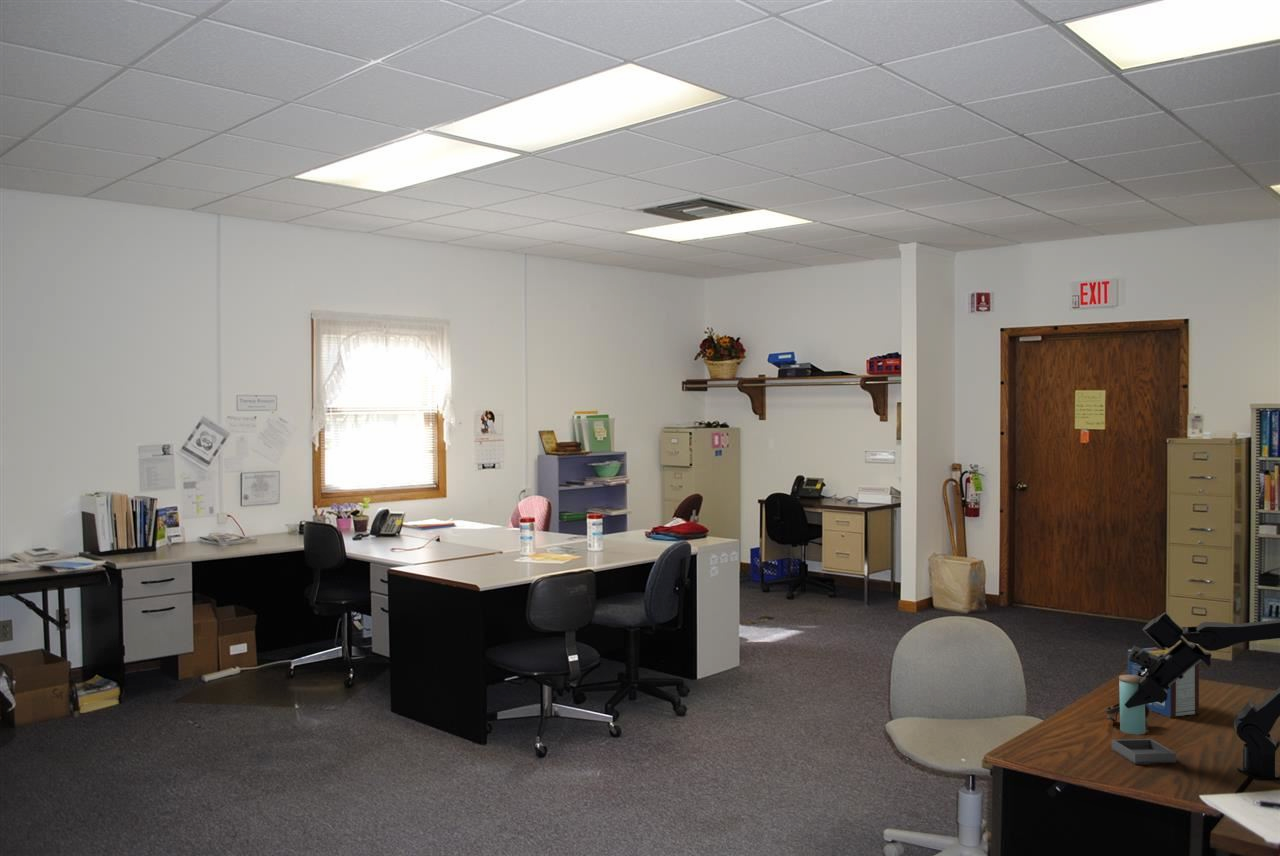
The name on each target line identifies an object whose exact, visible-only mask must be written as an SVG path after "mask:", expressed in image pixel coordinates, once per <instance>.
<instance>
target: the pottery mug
mask: <svg viewBox="0 0 1280 856" xmlns="http://www.w3.org/2000/svg"><path fill="white" fill-rule="evenodd" d="M1111 707H1112V708H1111ZM1105 713H1106V720H1107V721H1108V720H1110V721H1113V722H1112V723H1115V722H1117V720H1118V714H1119V715H1120V701H1119V702H1117V703H1115V704H1112V706H1109V707H1107V708H1106V709H1105ZM1149 715H1150V711H1149V707H1148V706H1147V705H1146V704H1145V731H1148V730H1149V726H1148V721H1147V718H1148V717H1149Z"/></svg>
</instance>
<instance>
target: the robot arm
mask: <svg viewBox="0 0 1280 856" xmlns="http://www.w3.org/2000/svg"><path fill="white" fill-rule="evenodd" d="M1142 631H1143V632H1144V633H1145V634H1146V636H1148V637H1149V638H1150V639H1151V640H1153V641H1154V642H1155V644H1157V646H1158V647H1160V649H1162V648H1165V649H1170V650H1168V651H1169V652H1168V653H1167V654H1165V655H1164V654H1163V655H1162V654H1160V655H1159V656H1158V657H1156V656H1155V655H1153V654H1151V653H1149V652H1147V651H1145V650H1143V649H1144V648H1140V647H1138V646H1137V645H1133V647H1132V648H1131V649H1130V650H1131V652H1130V654H1129V656H1128V655H1127V661H1128V660H1129V661H1131V662H1132V663H1136V664H1138V665H1140V666H1139V669H1140V670H1142V669H1143V670H1144V671H1143V672H1140V671H1139V670H1138V676H1141V677H1143V678H1142V679H1141V680H1139V679H1138V689H1137V690H1136V691H1135V693H1134V694H1133V695H1132V696H1131V697H1130V698H1129V700H1128V701H1127V702H1126V703H1125V706H1126V707H1127V708H1131V707H1135V706H1140V705H1144V704H1148V703H1153V702H1159V703H1161V704H1162V703H1163V702H1164V701H1166V700H1167V690H1168V689H1169V688H1170V685H1171V684H1172V683H1173V682H1175V681H1176V680H1177V679H1178V678H1179V679H1182V678H1183V677H1184V675H1183V674H1185V673H1186V672H1187V671H1189V670H1190V669H1191V668H1192V667H1194V666H1195V665H1196V664H1197V663H1199V664H1200V662H1201V661H1202V662H1203V663H1204V664H1205V665H1206V666H1208V667H1211V665H1212V663H1211V658H1212V653H1211V652H1214V651H1219V650H1223V649H1226V648H1230V647H1233V646H1235V645H1239V644H1241V643H1246V642H1247V643H1248V642H1256V641H1257V642H1258V641H1265V640H1266V641H1267V640H1276V639H1280V619H1273V620H1262V621H1255V622H1254V621H1253V622H1243V623H1230V622H1222V621H1221V622H1219V621H1218V622H1217V621H1215V622H1214V621H1204V622H1200V623H1199V624H1198V625H1197V626H1193V625H1192V626H1180V625H1179V624H1178V623H1176V622H1175V621H1174V620H1173V618H1172V617H1171V615H1169V614H1168V613H1167V612H1163V613H1161V614H1160V615H1158V616H1157V617H1155V618H1152V619H1151V620H1150V621H1149V622H1148V623H1146V625H1145V626H1144V627H1143V628H1142ZM1177 643H1178V644H1177ZM1176 644H1177V645H1176ZM1198 645H1199V646H1198ZM1172 647H1173V648H1172ZM1203 649H1204V650H1206V651H1209V652H1206V651H1204V650H1203ZM1235 714H1236V716H1235V717H1234V719H1233V726H1234V729H1235V731H1236V732H1235V733H1236V734H1237V736H1238V738H1239V739H1240V740H1241V741H1242V742H1243V750H1242V766H1237V767H1236V770H1237V771H1239V772H1241V773H1243V774H1245V775H1247V776H1248V777H1250V778H1252V779H1254V780H1277V779H1276V778H1280V774H1278V773H1276V751H1277V748H1278V747H1277V745H1276V742H1275V741H1274V737H1273V736H1272V734H1271V733H1270V732H1271V731H1272V730H1273V727H1274V726H1275V724H1276V723H1277V720H1278V719H1279V718H1280V686H1279V687H1278V688H1277V689H1276V690H1275V691H1274V692H1273V693H1271V694H1270V695H1269V696H1268V697H1267V698H1265V699H1264V700H1263V701H1262V702H1259V703H1257V704H1256V705H1255V704H1254V705H1253V703H1251V702H1250V701H1247V702H1246V704H1245V705H1244V706H1243V707H1242V708H1241V709H1240V710H1236V711H1235Z"/></svg>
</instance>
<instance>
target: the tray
mask: <svg viewBox="0 0 1280 856" xmlns="http://www.w3.org/2000/svg"><path fill="white" fill-rule="evenodd" d="M1110 749H1112V750H1111V751H1113V750H1114V751H1115V752H1114V751H1113V752H1114V753H1116V752H1117V753H1119V754H1120V755H1119V754H1118V755H1119V756H1121V755H1122V756H1123V757H1122V756H1121V757H1122V758H1124V757H1125V758H1127V759H1128V760H1130V761H1131V763H1132V762H1133V763H1135V764H1141V765H1150V764H1149V763H1176V764H1177V753H1176V752H1175V751H1174V750H1171V749H1170V748H1167V747H1166V746H1164V745H1163V744H1161V743H1159V742H1158V741H1156V740H1154V739H1151V738H1139V739H1138V738H1137V739H1135V738H1134V739H1111V748H1110ZM1117 753H1116V754H1117ZM1125 758H1124V759H1125ZM1127 759H1126V760H1127ZM1128 760H1127V761H1128ZM1130 761H1129V762H1130ZM1133 763H1132V764H1133ZM1145 763H1146V764H1145ZM1135 764H1134V765H1135Z"/></svg>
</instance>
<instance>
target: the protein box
mask: <svg viewBox="0 0 1280 856" xmlns="http://www.w3.org/2000/svg"><path fill="white" fill-rule="evenodd" d="M1142 649H1143V650H1145V651H1147V652H1149V653H1151V654H1153V655H1155V656H1156V657H1158V656H1159V655H1160V654H1162V655H1163V654H1164V655H1165V654H1167V653H1168V652H1169V651H1170V650H1165V649H1162V648H1159V647H1156V646H1153V647H1146V648H1144V647H1143V648H1142ZM1131 650H1132V649H1128V650H1127V657H1128V656H1129V654H1130V652H1131ZM1139 666H1140V665H1138V664H1136V663H1132V662H1131V661H1129V660H1128V659H1127V675H1136V676H1138V670H1139V671H1140V672H1143V671H1144V670H1143V669H1142V670H1140V669H1139ZM1183 675H1184V677H1183V678H1182V679H1179V678H1178V679H1177V680H1176V681H1175V682H1173V683H1172V684H1171V685H1170V688H1169V689H1168V690H1167V700H1166V701H1164V702H1163V703H1162V704H1161V703H1159V702H1153V703H1148V704H1146V705H1147V706H1148V707H1149V710H1152V711H1154V712H1153V713H1155V712H1157V713H1156V714H1158V713H1160V714H1162V715H1161V716H1163V715H1165V716H1164V717H1166V716H1169V717H1174V718H1177V717H1176V716H1182V717H1186V716H1185V715H1190V716H1196V714H1198V715H1200V703H1199V702H1200V662H1199V663H1197V664H1196V665H1195V666H1194V667H1192V668H1191V669H1190V670H1189V671H1187V672H1186V673H1185V674H1183ZM1152 711H1151V712H1152ZM1160 714H1159V715H1160Z"/></svg>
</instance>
